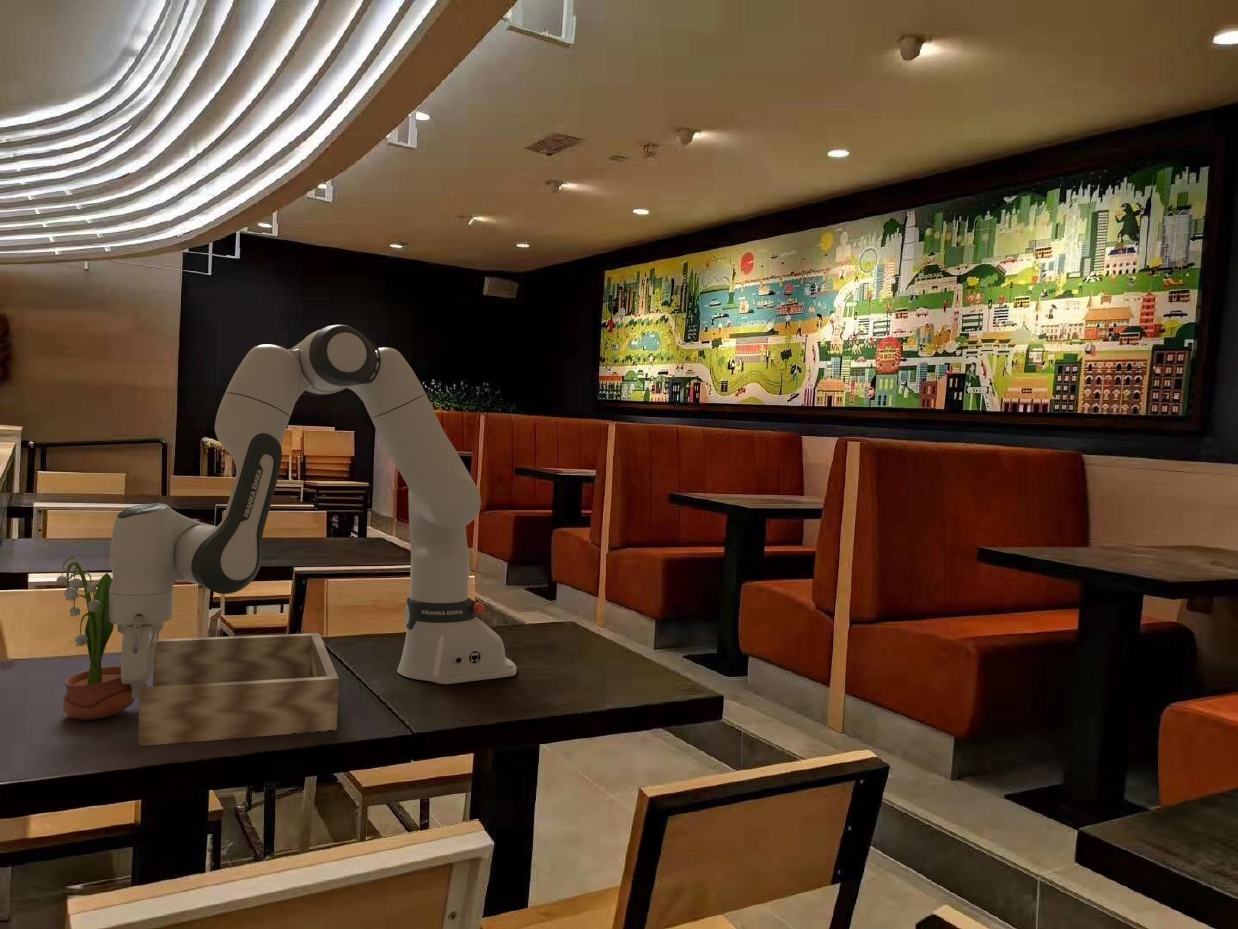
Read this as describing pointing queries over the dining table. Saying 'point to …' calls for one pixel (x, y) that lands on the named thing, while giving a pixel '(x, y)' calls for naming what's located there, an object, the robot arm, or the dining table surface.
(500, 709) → the dining table surface
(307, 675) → the open wooden planter box
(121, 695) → the potted flower
